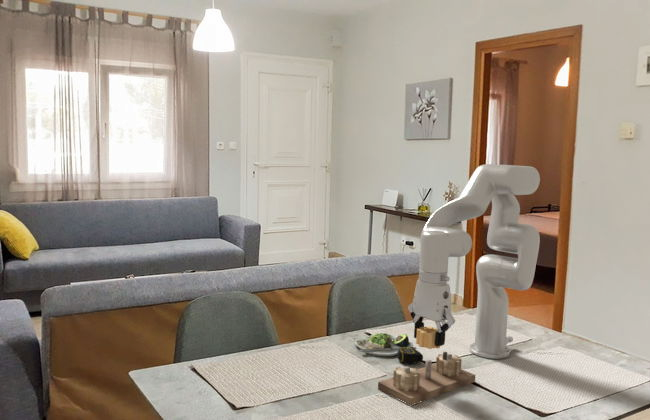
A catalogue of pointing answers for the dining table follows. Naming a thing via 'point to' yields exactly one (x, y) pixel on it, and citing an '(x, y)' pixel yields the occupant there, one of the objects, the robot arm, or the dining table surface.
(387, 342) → the salad plate
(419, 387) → the gear board
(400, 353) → the tape measure
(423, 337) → the ochre gear
